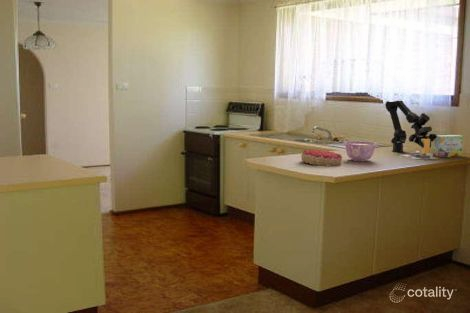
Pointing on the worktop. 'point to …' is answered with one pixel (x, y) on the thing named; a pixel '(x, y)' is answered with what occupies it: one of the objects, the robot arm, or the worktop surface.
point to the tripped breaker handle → (425, 146)
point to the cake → (321, 157)
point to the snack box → (447, 145)
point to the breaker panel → (419, 156)
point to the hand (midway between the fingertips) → (426, 147)
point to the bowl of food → (360, 150)
